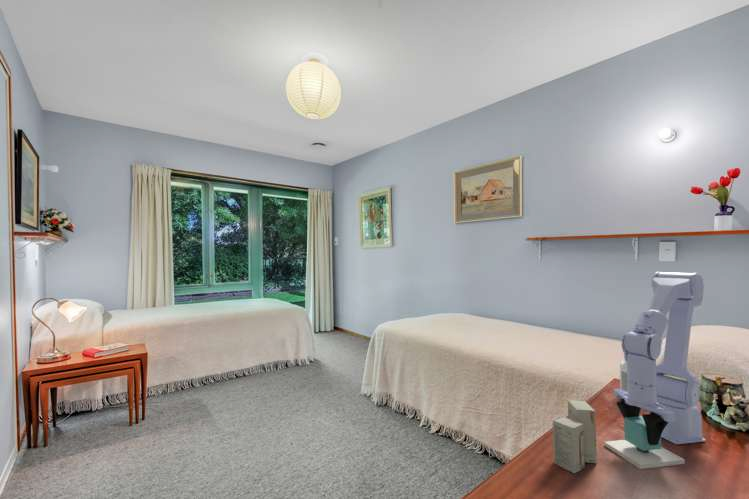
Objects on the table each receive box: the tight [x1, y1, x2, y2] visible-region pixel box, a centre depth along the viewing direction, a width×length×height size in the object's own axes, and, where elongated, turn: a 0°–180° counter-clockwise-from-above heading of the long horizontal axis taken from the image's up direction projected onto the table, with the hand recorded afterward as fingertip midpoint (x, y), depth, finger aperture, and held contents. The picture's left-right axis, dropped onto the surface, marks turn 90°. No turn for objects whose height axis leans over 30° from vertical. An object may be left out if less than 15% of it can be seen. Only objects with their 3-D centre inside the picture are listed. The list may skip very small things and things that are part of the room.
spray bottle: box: [619, 360, 628, 392], centre depth 120 cm, size 7×7×18 cm
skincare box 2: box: [567, 399, 598, 464], centre depth 85 cm, size 6×4×12 cm
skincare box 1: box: [552, 416, 586, 474], centre depth 81 cm, size 5×4×10 cm
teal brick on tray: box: [623, 415, 662, 451], centre depth 86 cm, size 5×5×6 cm
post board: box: [604, 439, 686, 470], centre depth 86 cm, size 12×10×4 cm
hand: (642, 438), depth 86 cm, fingers closed on teal brick on tray, 5 cm apart
